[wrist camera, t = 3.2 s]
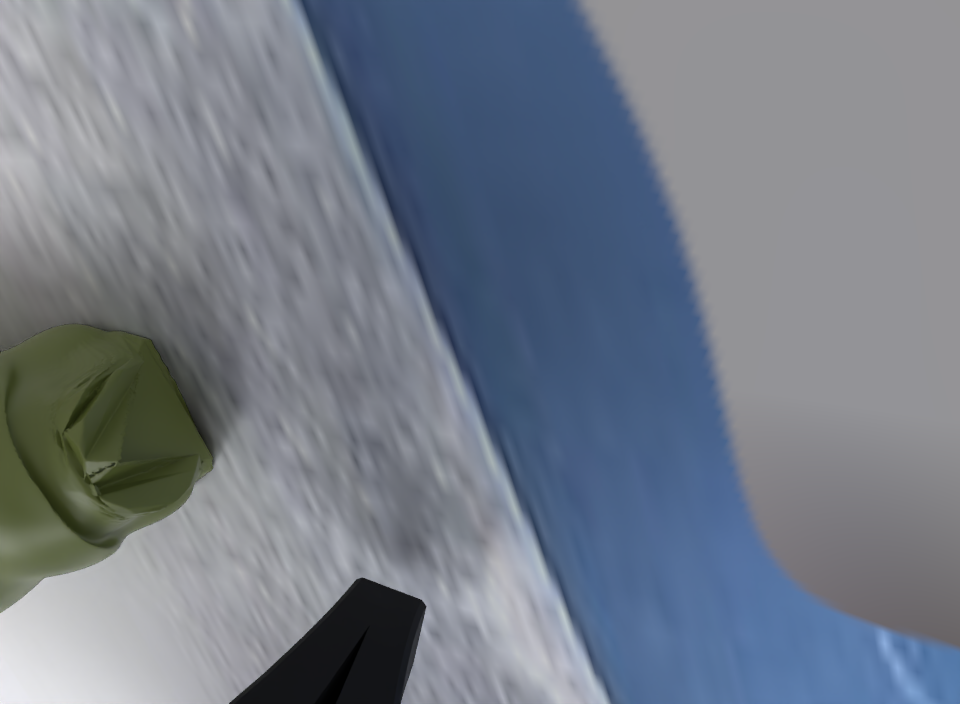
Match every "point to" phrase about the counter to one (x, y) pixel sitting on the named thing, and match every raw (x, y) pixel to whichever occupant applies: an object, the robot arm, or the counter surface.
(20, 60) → the counter surface
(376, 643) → the robot arm
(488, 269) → the counter surface
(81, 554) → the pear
